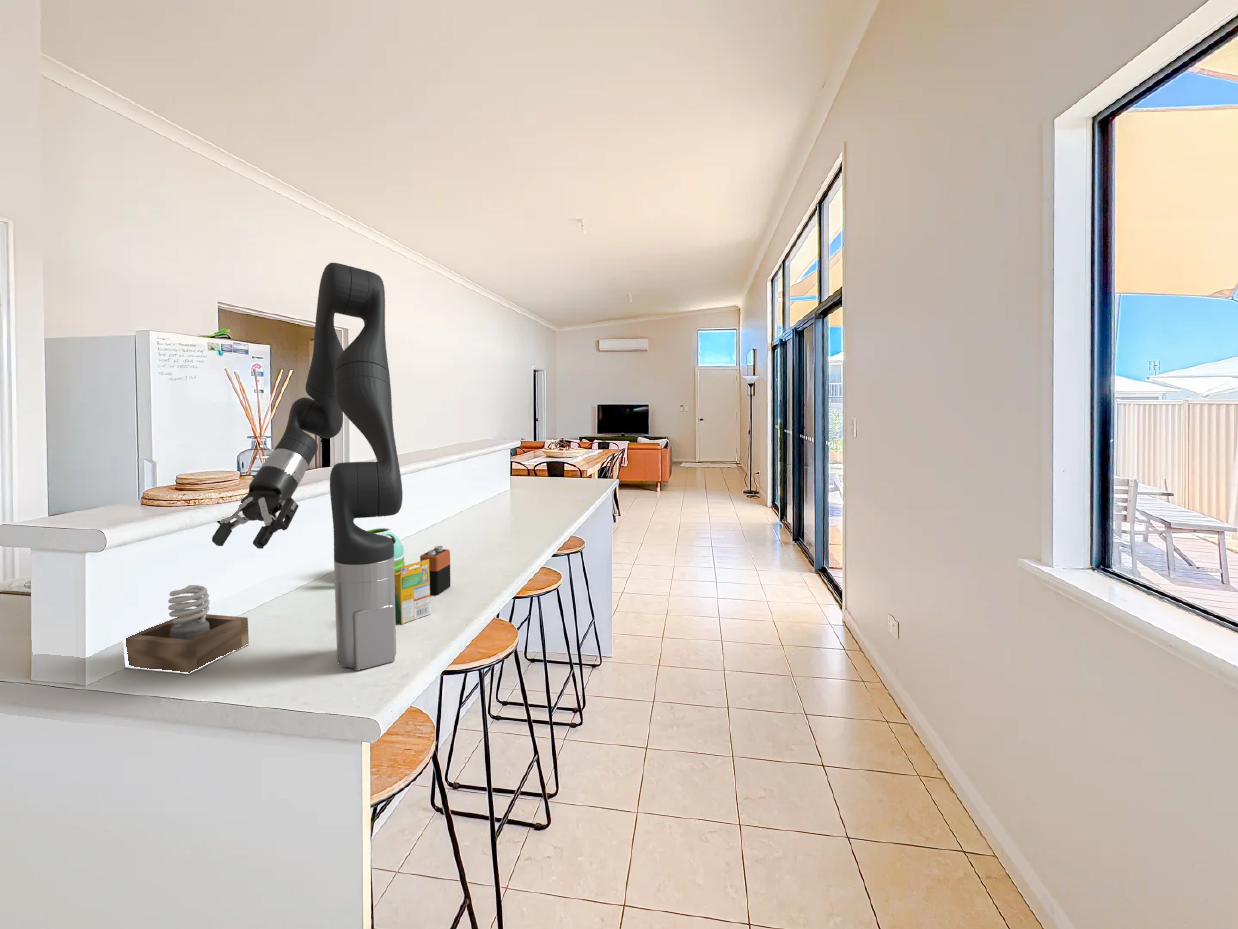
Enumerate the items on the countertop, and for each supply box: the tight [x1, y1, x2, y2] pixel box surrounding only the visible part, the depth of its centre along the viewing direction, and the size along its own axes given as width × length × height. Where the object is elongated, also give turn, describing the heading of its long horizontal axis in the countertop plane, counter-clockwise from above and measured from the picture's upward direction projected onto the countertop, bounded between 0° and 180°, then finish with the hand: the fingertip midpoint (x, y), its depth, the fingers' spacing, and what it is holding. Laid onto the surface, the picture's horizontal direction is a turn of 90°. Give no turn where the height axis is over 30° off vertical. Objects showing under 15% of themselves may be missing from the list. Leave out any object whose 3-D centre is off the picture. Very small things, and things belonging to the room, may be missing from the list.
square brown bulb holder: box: [126, 613, 250, 673], centre depth 99 cm, size 12×12×5 cm
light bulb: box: [167, 584, 210, 640], centre depth 99 cm, size 6×6×12 cm
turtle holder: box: [364, 527, 406, 573], centre depth 144 cm, size 12×18×12 cm
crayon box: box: [394, 559, 432, 625], centre depth 119 cm, size 7×3×12 cm, turn 148°
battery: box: [419, 545, 451, 596], centre depth 136 cm, size 4×7×10 cm, turn 170°
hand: (236, 545), depth 109 cm, fingers open, 8 cm apart
